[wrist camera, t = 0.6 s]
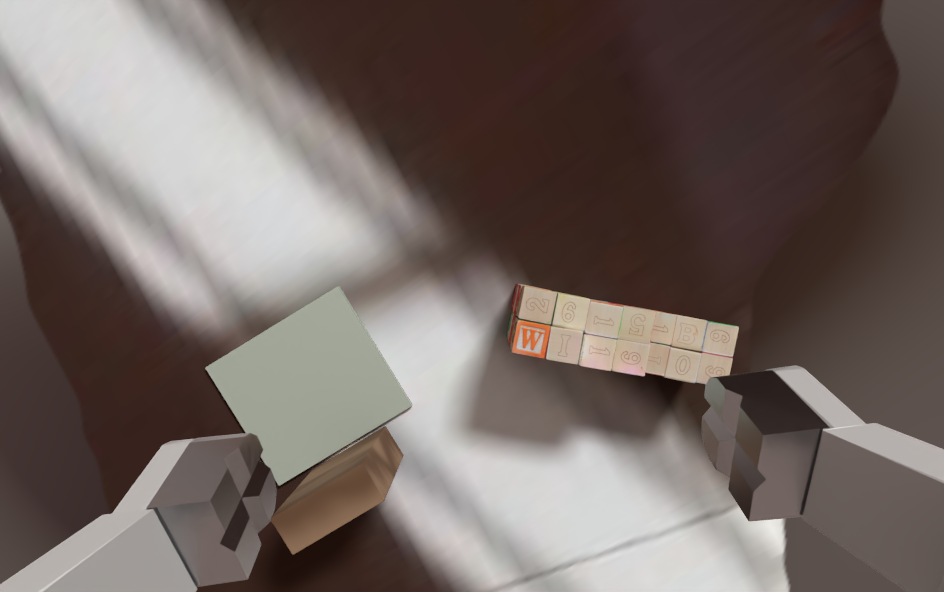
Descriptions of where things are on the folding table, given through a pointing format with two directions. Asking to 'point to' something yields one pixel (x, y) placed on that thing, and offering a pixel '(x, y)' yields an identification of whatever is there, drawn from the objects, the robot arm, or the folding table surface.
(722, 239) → the folding table surface
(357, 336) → the mat
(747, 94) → the folding table surface
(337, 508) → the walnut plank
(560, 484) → the folding table surface
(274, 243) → the folding table surface
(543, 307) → the stack of blocks
